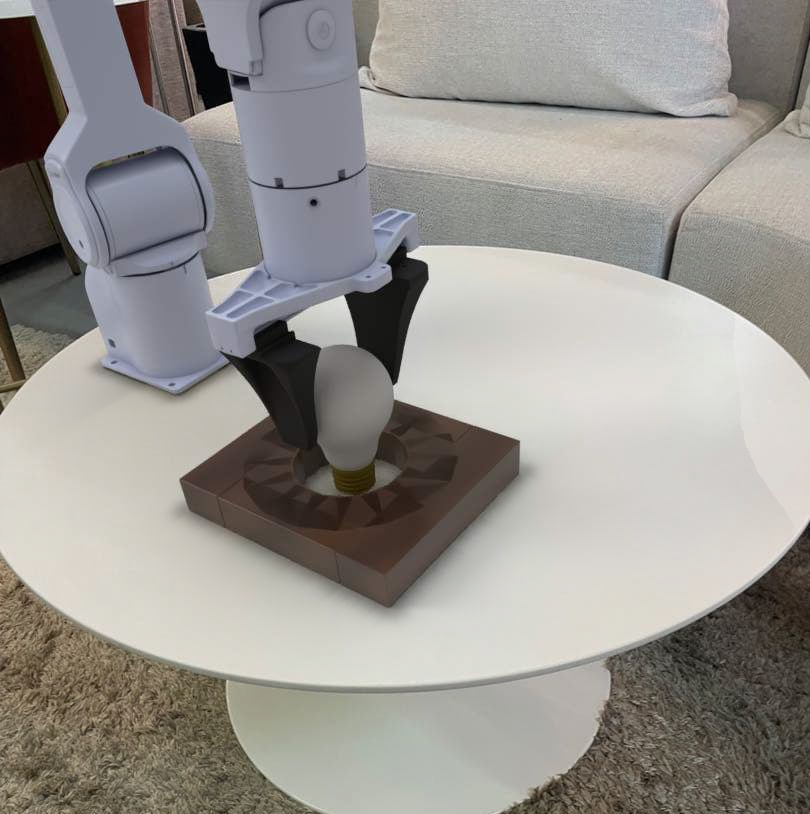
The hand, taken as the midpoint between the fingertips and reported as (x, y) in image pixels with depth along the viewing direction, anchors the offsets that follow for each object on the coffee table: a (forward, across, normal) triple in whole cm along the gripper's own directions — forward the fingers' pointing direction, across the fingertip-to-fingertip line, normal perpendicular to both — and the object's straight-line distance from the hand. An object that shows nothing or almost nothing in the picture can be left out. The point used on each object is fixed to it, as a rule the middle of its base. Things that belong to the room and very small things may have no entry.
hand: (342, 410), depth 47 cm
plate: (+6, 0, 0) cm, 6 cm away
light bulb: (+6, 0, 0) cm, 6 cm away
